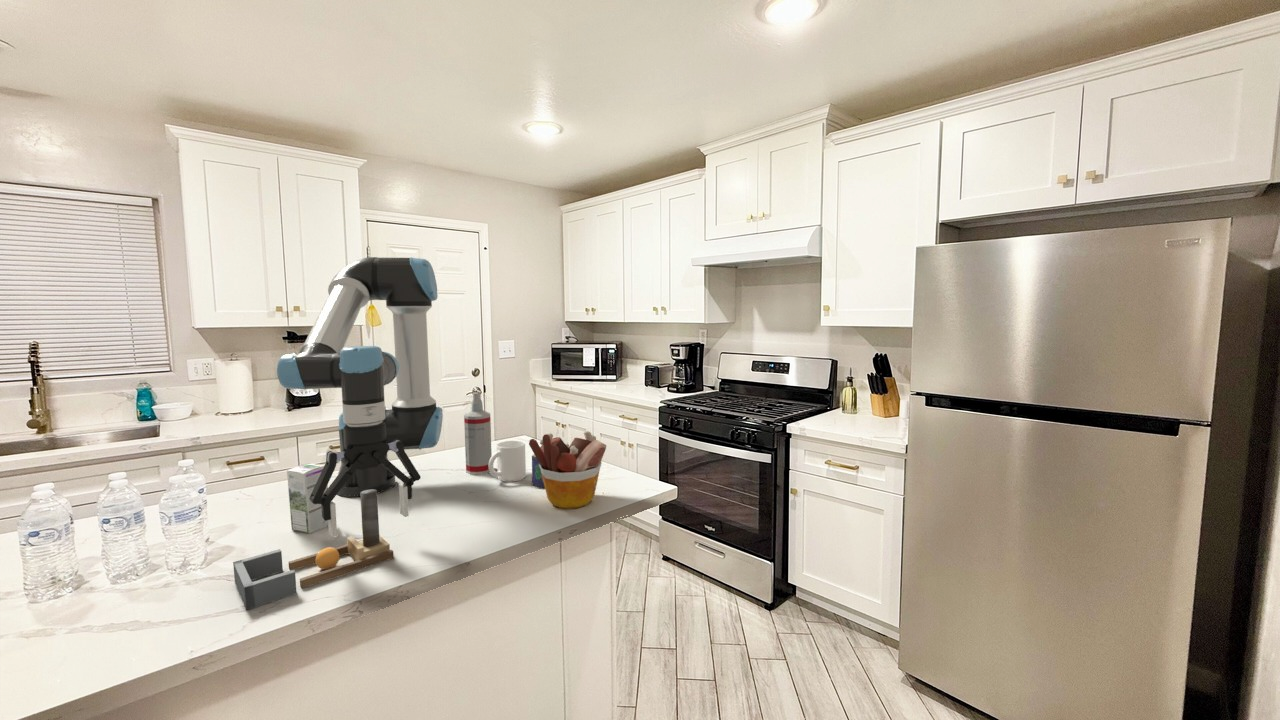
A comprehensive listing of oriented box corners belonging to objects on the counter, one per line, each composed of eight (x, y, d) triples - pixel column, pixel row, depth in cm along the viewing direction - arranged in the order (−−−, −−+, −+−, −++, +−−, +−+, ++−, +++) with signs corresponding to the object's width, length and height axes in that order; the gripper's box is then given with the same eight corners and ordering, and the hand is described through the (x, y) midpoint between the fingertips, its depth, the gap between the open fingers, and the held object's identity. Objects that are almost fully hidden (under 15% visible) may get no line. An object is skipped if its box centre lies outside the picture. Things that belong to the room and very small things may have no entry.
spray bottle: (461, 474, 157) (458, 394, 154) (473, 466, 164) (470, 390, 162) (485, 475, 156) (482, 394, 153) (496, 468, 163) (493, 390, 160)
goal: (234, 582, 94) (233, 562, 94) (281, 568, 100) (280, 549, 99) (246, 610, 86) (244, 587, 85) (296, 593, 91) (295, 571, 90)
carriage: (348, 552, 105) (344, 491, 104) (378, 543, 110) (375, 484, 108) (359, 564, 101) (355, 500, 99) (390, 554, 105) (387, 493, 104)
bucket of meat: (572, 485, 147) (571, 417, 145) (617, 497, 138) (617, 424, 136) (519, 507, 131) (517, 431, 129) (566, 522, 121) (564, 440, 119)
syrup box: (331, 524, 120) (328, 464, 119) (308, 534, 115) (304, 472, 113) (314, 521, 122) (310, 462, 121) (290, 531, 117) (285, 469, 115)
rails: (289, 569, 99) (288, 561, 99) (376, 542, 111) (376, 535, 111) (301, 588, 92) (301, 580, 92) (393, 558, 104) (393, 551, 104)
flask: (560, 488, 144) (560, 451, 143) (554, 491, 142) (553, 454, 141) (535, 483, 149) (534, 447, 148) (529, 486, 146) (528, 449, 145)
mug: (497, 487, 145) (496, 452, 144) (481, 481, 151) (480, 447, 150) (531, 477, 154) (530, 443, 153) (515, 471, 160) (514, 439, 159)
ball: (313, 568, 100) (312, 548, 99) (336, 560, 103) (335, 541, 102) (319, 575, 97) (317, 555, 97) (342, 568, 100) (341, 548, 99)
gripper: (296, 436, 91) (303, 550, 93) (434, 416, 109) (437, 512, 111) (287, 429, 97) (294, 537, 99) (419, 411, 114) (423, 503, 116)
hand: (370, 524), depth 105 cm, fingers open, 13 cm apart
